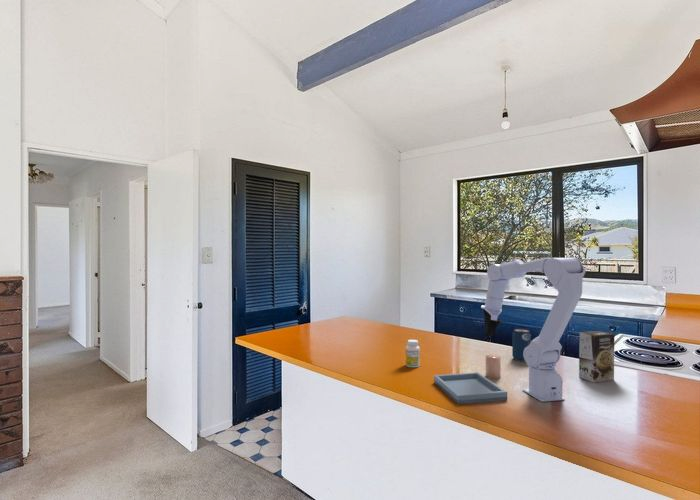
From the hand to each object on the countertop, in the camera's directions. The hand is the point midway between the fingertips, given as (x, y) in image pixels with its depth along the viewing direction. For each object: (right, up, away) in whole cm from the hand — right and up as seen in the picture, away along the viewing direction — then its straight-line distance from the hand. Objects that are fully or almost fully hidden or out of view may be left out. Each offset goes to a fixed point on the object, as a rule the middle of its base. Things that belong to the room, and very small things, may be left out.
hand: (488, 331), depth 142 cm
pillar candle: (0, -15, -4) cm, 16 cm away
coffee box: (+35, -15, -7) cm, 39 cm away
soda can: (+19, -15, +15) cm, 29 cm away
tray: (-13, -15, -18) cm, 27 cm away
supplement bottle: (-26, -15, +8) cm, 32 cm away
